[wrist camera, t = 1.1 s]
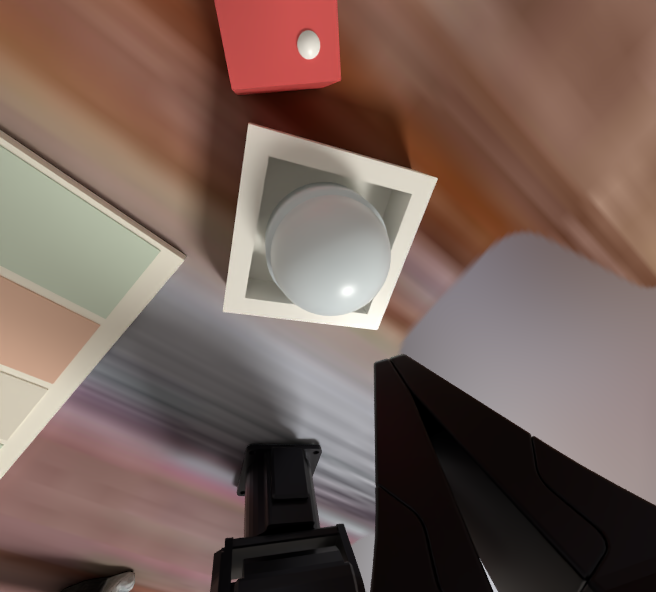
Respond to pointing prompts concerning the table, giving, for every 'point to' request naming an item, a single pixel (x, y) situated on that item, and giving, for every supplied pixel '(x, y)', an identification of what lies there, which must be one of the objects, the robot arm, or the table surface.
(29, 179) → the track board
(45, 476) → the table surface
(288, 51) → the red die
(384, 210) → the base
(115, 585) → the figurine
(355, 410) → the table surface
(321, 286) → the dome
